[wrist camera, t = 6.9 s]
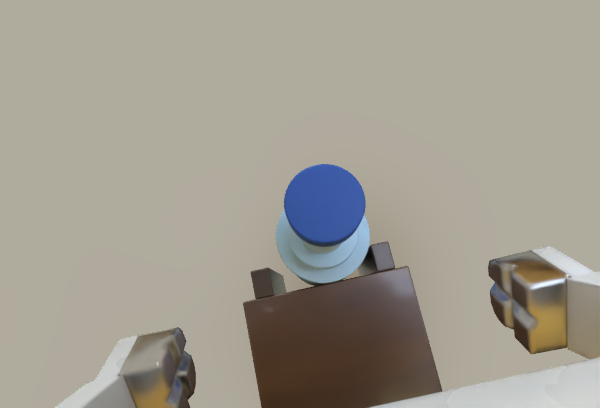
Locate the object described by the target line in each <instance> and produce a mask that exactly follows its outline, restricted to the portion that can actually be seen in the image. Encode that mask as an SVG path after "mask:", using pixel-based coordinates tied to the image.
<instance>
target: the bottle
mask: <svg viewBox="0 0 600 408" xmlns="http://www.w3.org/2000/svg"><path fill="white" fill-rule="evenodd" d="M364 212H365V196H364V192H363V190H362V187H361V185H360V184H359V182H358V181H357V179H356V178H355V177H354V176H353V175H352V174H351V173H349V172H348V171H346V170H345V169H343V168H340V167H338V166H335V165H329V164H321V165H315V166H311V167H309V168H306V169H304V170H303V171H301V172H300V173H298V174H297V175H296V176H295V177H294V179H293V180H292V181H291V183H290V184H289V186H288V188H287V190H286V193H285V199H284V211H283V213H282V214H281V216H280V218H279V221H278V224H277V229H276V244H277V248H278V252H279V254H280V256H281V258H282V260H283V262H284V263H285V264H286V266H287V267H288V268H289V269H290V270H291V271H292V272H293V273H294V274H296V275H297V276H298V277H299V278H300V279H302V280H303V281H305V282H306V283H308V284H310V285H314V286H319V285H323V284H328V283H332V282H337V281H341V280H343V279H344V278H346V277H347V276H349V275H350V274H351V273H353V272H354V271H355V270H356V269H357V268H358V267H359V266H360V265H361V263H362V262H363V260H364V258H365V256H366V254H367V251H368V248H369V242H370V232H369V226H368V222H367V220H366V217H365V215H364Z"/></svg>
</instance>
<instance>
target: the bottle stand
mask: <svg viewBox="0 0 600 408" xmlns="http://www.w3.org/2000/svg"><path fill="white" fill-rule="evenodd" d="M394 268H395V265H394V262H393V258H392V254H391V250H390V247H389V243H388V242H382V243H377V244H373V245H371V246H370V247H369V248H368V251H367V254H366V256H365V258H364V260H363V262H362V263H361V265H360V266H359V267H358V271H359V274H360V277H355V278H351V279H346V280H341V281H337V282H332V283H328V284H323V285H319V286H314V287H310V288H305V289H301V290H297V291H292V292H287V293H286V289H285V283H284V278H283V276H282V275H280V274H279V273H277V272H275V271H273V270H271V269H269V268H264V269H260V270H255V271H251V277H252V282H253V288H254V293H255V298H256V299H255V300H251V301H247V302H244V303H243V306H244V311H245V317H246V323H247V328H248V333H249V339H250V345H251V350H252V356H253V362H254V368H255V373H256V378H257V384H258V390H259V396H260V401H261V407H262V408H369V407H373V406H378V405H382V404H387V403H392V402H396V401H401V400H405V399H410V398H415V397H419V396H424V395H428V394H433V393H438V392H442V388H441V384H440V380H439V377H438V373H437V370H436V366H435V362H434V359H433V355H432V352H431V347H430V344H429V340H428V337H427V333H426V329H425V326H424V322H423V318H422V314H421V311H420V307H419V304H418V300H417V296H416V293H415V289H414V285H413V282H412V278H411V274H410V270H409V267H408V266H405V267H400V268H396V269H394Z"/></svg>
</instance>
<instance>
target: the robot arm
mask: <svg viewBox="0 0 600 408" xmlns="http://www.w3.org/2000/svg"><path fill="white" fill-rule="evenodd" d="M488 270H489V271H488V272H489V276H490V277H491V278H492V279H493V280H494V281H495V283H494V285H493V287H492V288H491V290H490V297H491V304H492V306H493V309H494V312H495V314H496V316H497V317H498V319H499V321H500V322H501V323H502V324H503V325H504V326H505V327H508V328H511V329H514V332H515V338H516V339H517V340H518V341H519V342H520V343H521V344H522V345H523V346H524V347H525V348H526V349H527V350H528V351H529V352H530V353H531V354H536V353H541V352H546V351H551V350H557V349H562V348H567V347H568V350H571V351H573V352H575V353H577V354H580V355H581V356H584V357H586V358H588V359H589V360H585V361H580V362H576V363H571V364H566V365H562V366H558V367H552V368H548V369H543V370H539V371H534V372H529V373H525V374H520V375H516V376H511V377H506V378H502V379H497V380H493V381H488V382H484V383H479V384H474V385H470V386H465V387H461V388H456V389H452V390H447V391H442V392H438V393H433V394H428V395H424V396H419V397H415V398H410V399H405V400H401V401H396V402H392V403H387V404H382V405H378V406H373V407H369V408H600V272H594V271H592V270H590V269H588V268H586V267H585V266H583V265H582V264H580V263H578V262H577V261H575V260H573V259H571V258H570V257H568V256H566V255H565V254H563V253H561V252H560V251H558V250H556V249H555V248H553V247H548V246H546V247H542V248H538V249H534V250H530V251H526V252H522V253H518V254H514V255H509V256H505V257H501V258H497V259H493V260H490V261H489V266H488ZM185 344H186V339H185V337H184V334H183V331H182V330H181V329H180V328H173V329H167V330H162V331H157V332H152V333H147V334H142V335H136V336H132V337H128V338H124V339H121V340H119V341H118V342H117V344H116V346H115V347H114V349H113V351H112V352H111V354H110V356H109V358H108V359H107V361H106V363H105V364H104V366H103V368H102V369H101V371H100V373H99V374H98V376H97V378H96V379H95V381H93V382H88V383H87V384H85V385H84V386H83V387H81V388H80V389H79V390H77V391H76V392H75V393H73V394H72V395H71V396H69V397H68V398H67V399H65V400H64V401H62V402H61V403H60V404H58V405H57V406H56V407H54V408H190V406H189V403H188V399H189V398H190V397H191V396H192V395H193V394H194V389H195V384H196V373H195V367H194V363H193V360H192V357H191V355H189V354H188V353H187V352H185V351H184V347H185Z"/></svg>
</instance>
